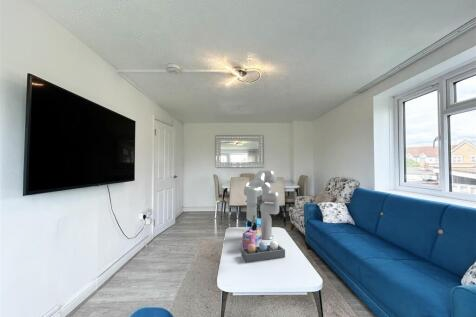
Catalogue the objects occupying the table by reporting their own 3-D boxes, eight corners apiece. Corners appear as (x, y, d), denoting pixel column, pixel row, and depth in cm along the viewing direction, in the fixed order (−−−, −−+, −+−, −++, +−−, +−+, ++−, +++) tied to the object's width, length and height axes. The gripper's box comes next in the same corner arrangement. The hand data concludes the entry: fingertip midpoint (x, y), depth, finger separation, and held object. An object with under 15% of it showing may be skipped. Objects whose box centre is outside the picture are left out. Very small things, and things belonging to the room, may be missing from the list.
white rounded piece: (269, 249, 170) (268, 241, 170) (275, 248, 171) (275, 240, 171) (272, 252, 164) (272, 244, 164) (279, 251, 166) (279, 243, 166)
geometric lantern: (252, 227, 241) (253, 194, 241) (264, 230, 231) (265, 196, 231) (243, 230, 229) (244, 196, 229) (256, 233, 219) (257, 198, 219)
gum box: (254, 241, 198) (254, 225, 198) (262, 242, 194) (262, 226, 195) (242, 250, 177) (242, 233, 177) (251, 252, 173) (251, 234, 173)
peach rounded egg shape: (246, 252, 164) (246, 244, 164) (253, 251, 166) (253, 243, 166) (249, 255, 159) (249, 246, 159) (256, 254, 161) (256, 246, 161)
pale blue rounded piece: (258, 250, 167) (258, 242, 167) (264, 249, 169) (264, 241, 169) (260, 253, 162) (260, 245, 162) (268, 252, 163) (267, 244, 163)
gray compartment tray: (241, 255, 166) (241, 248, 167) (277, 251, 175) (277, 244, 175) (246, 262, 155) (246, 254, 155) (285, 257, 164) (285, 249, 164)
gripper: (243, 203, 170) (243, 225, 170) (251, 207, 154) (251, 232, 153) (252, 202, 172) (252, 224, 172) (261, 206, 156) (261, 231, 156)
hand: (251, 228), depth 163 cm, fingers open, 9 cm apart
